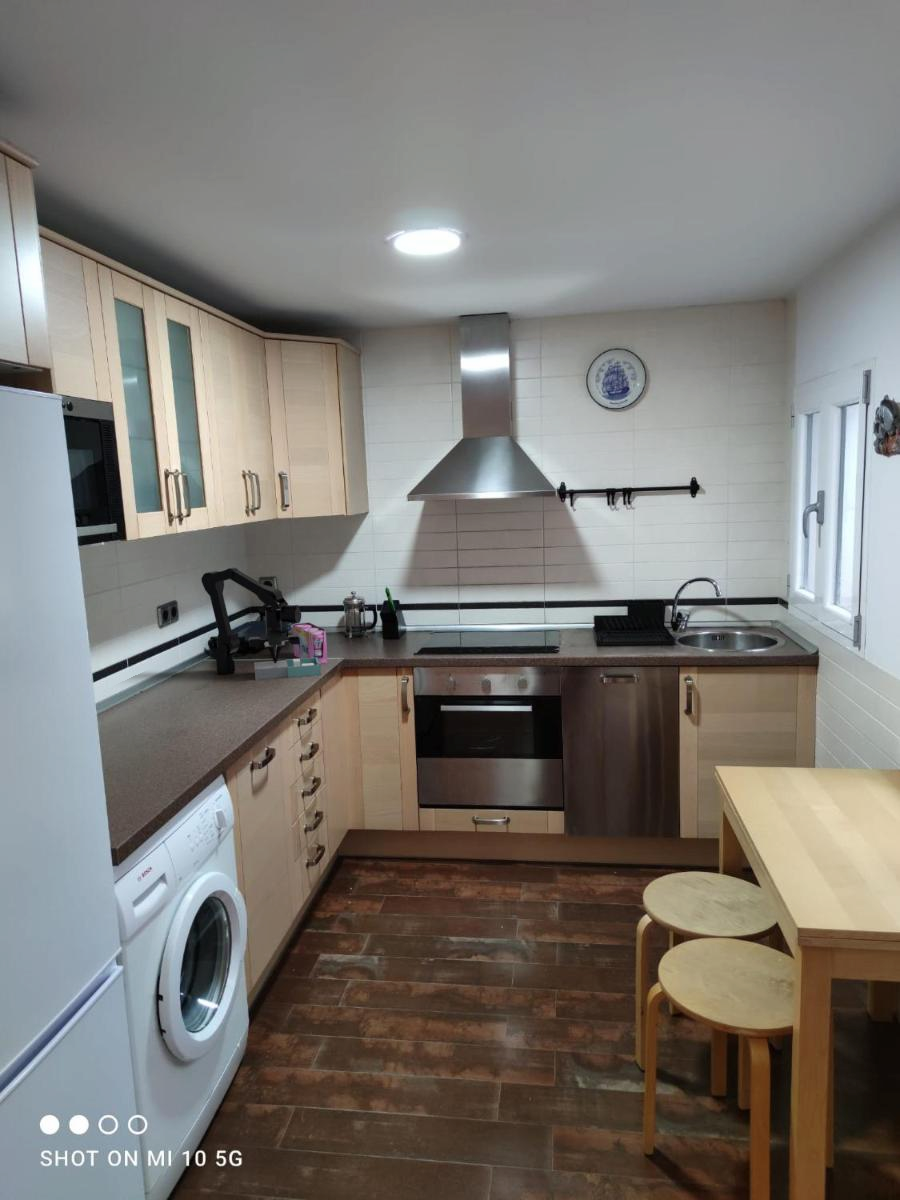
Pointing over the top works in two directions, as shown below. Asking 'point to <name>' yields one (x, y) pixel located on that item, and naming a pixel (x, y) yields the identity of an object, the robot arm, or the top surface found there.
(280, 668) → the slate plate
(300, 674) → the tray
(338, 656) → the top surface
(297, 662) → the tile
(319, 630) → the gum box
